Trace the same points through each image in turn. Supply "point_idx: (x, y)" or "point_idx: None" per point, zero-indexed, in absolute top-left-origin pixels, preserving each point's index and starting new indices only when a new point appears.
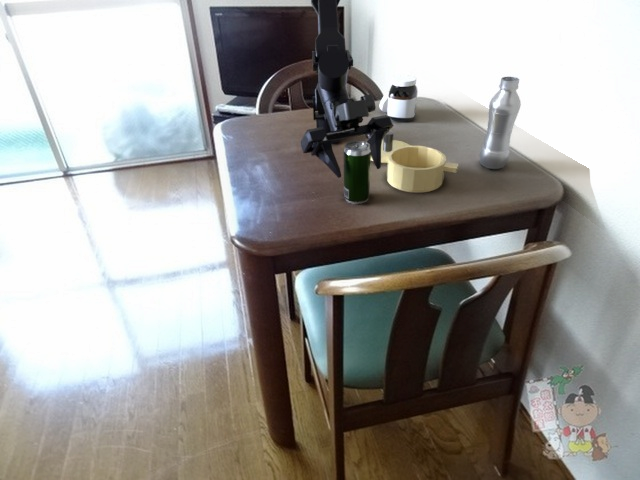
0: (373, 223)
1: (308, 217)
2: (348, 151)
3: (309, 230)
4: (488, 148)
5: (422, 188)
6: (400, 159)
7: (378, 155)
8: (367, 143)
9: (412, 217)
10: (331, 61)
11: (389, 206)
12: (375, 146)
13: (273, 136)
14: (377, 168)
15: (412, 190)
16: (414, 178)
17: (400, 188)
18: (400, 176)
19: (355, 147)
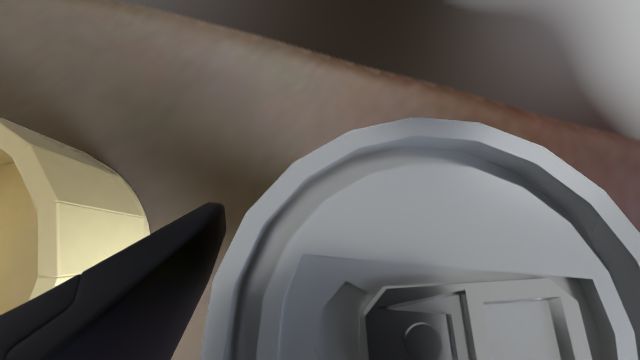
0: (389, 90)
1: None
2: (624, 291)
3: (614, 169)
4: None
5: (85, 153)
6: None
7: (158, 247)
8: (225, 313)
9: (256, 53)
10: None
11: (272, 147)
12: (86, 336)
13: None
14: (224, 229)
15: (121, 178)
16: (74, 159)
17: (144, 224)
18: (105, 222)
19: (489, 319)
